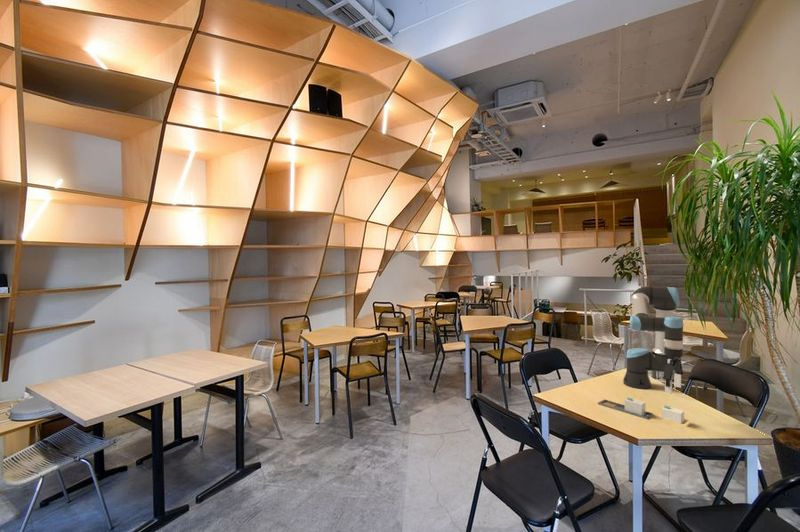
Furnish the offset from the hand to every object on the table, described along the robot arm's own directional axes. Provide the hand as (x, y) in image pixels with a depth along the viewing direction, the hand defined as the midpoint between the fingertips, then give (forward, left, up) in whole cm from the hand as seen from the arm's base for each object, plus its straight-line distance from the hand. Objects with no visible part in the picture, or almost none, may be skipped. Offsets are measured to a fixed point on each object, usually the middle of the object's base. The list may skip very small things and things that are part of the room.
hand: (673, 389), depth 185 cm
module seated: (+6, -15, -15) cm, 22 cm away
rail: (+6, -20, -16) cm, 26 cm away
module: (0, 0, -16) cm, 16 cm away
